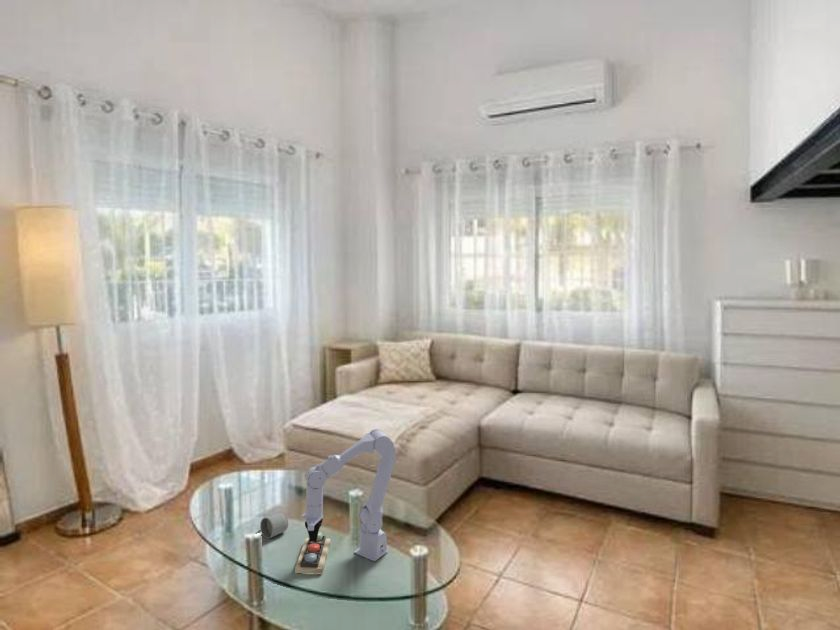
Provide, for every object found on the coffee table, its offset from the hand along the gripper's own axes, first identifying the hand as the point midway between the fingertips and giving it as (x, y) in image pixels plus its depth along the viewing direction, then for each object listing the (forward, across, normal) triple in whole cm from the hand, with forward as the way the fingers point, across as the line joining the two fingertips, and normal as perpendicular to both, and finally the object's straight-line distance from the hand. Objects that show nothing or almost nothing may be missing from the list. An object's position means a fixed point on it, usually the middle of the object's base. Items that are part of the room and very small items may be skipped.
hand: (313, 540), depth 182 cm
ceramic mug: (+8, -19, -18) cm, 28 cm away
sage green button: (+4, -9, 0) cm, 9 cm away
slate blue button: (+5, +4, 0) cm, 7 cm away
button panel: (+7, -2, 0) cm, 8 cm away
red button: (+5, -2, 0) cm, 5 cm away
